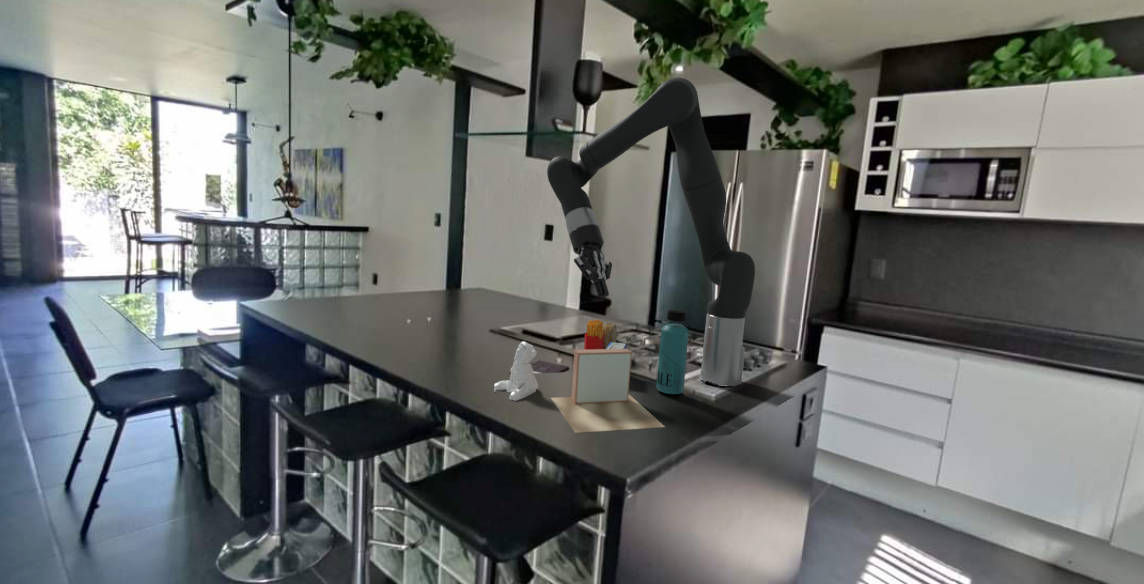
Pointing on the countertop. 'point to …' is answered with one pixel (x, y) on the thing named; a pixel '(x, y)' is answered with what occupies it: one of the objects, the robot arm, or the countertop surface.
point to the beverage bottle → (672, 355)
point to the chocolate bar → (547, 367)
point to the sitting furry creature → (520, 374)
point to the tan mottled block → (609, 334)
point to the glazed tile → (601, 375)
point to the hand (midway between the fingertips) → (603, 296)
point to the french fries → (594, 335)
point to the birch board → (606, 415)
